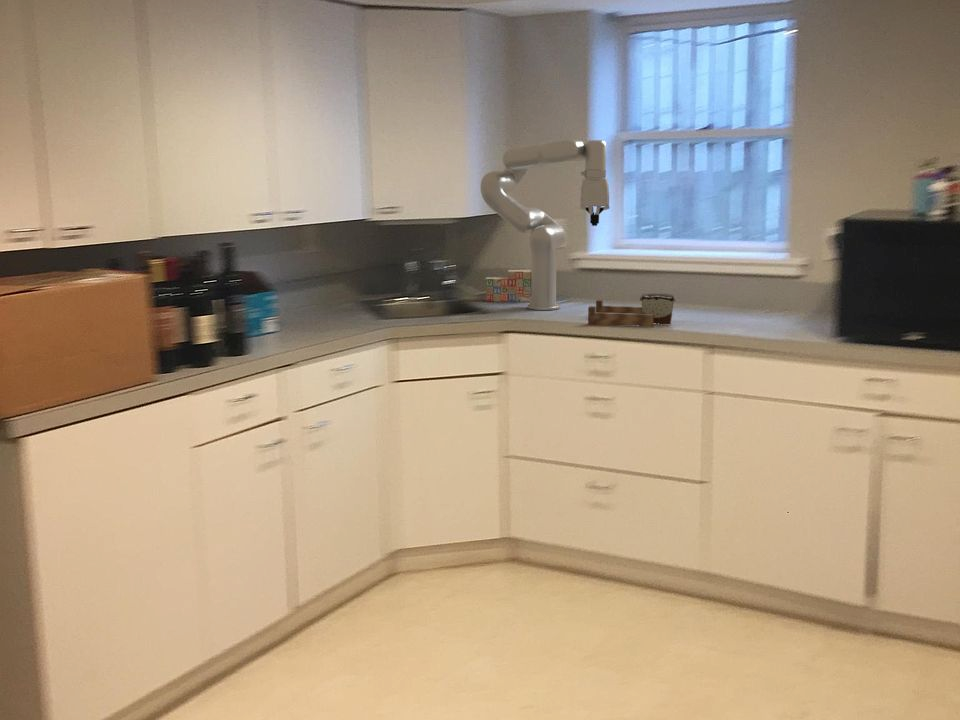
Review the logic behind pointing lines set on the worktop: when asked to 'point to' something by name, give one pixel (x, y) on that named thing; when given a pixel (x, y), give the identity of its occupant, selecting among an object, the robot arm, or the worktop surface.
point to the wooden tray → (618, 315)
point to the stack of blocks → (509, 286)
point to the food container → (658, 306)
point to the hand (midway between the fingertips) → (594, 225)
